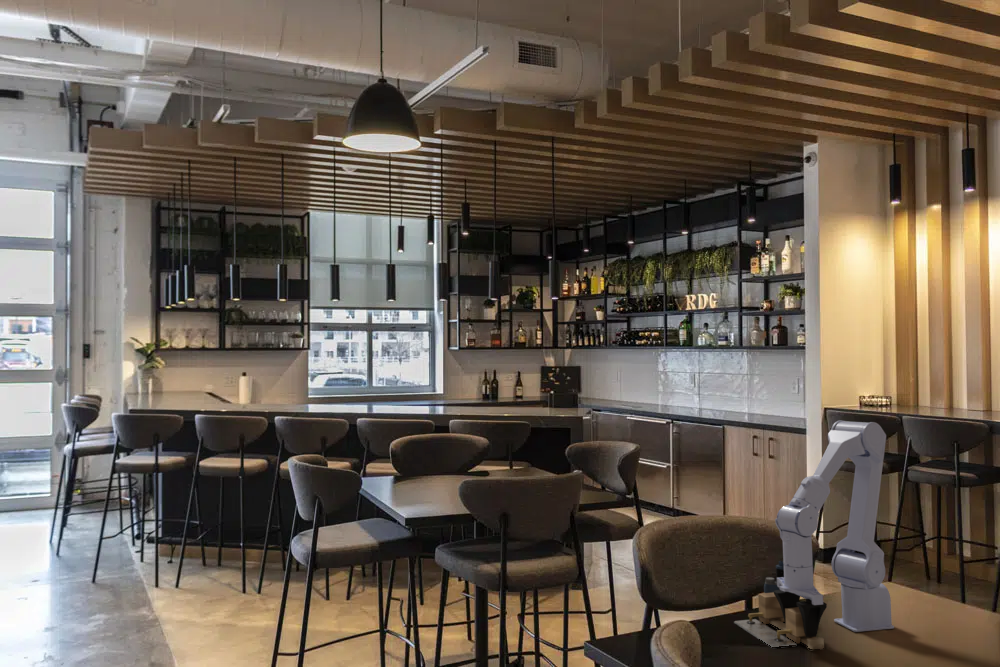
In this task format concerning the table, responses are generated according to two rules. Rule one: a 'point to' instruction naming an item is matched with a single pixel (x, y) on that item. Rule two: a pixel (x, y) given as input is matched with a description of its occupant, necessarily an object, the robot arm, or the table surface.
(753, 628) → the bolt plate
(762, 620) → the fixed leg
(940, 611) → the table surface
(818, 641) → the rail
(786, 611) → the brown block with peg
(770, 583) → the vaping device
